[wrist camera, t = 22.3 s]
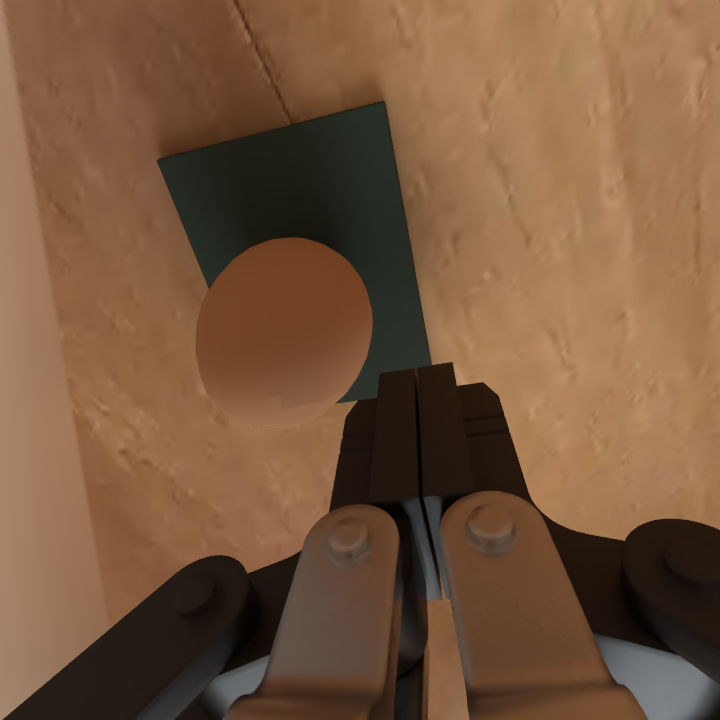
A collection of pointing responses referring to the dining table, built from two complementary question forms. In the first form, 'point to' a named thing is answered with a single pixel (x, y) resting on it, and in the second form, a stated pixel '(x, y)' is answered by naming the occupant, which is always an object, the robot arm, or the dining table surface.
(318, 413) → the egg
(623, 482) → the dining table surface
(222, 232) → the mat
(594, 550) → the robot arm
